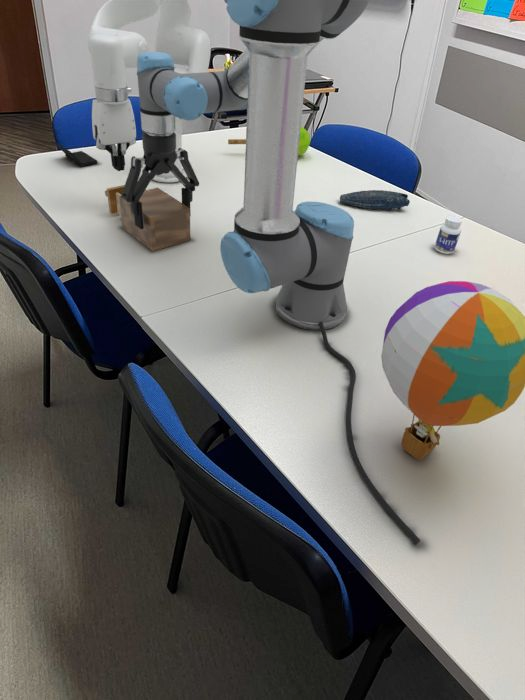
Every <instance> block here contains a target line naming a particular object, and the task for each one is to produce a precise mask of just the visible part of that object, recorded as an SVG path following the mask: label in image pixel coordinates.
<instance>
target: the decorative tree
mask: <svg viewBox="0 0 525 700" xmlns="http://www.w3.org/2000/svg"><path fill="white" fill-rule="evenodd" d="M227 144H228V145H246V138H244V139H243V138H241V139H239V138H237V139H236V138H235V139H233V138H230V139H227ZM310 145H311V136H310V133H309V132H308V131H307V130H306V129H305V128H304V127H303V126H302V125H301V128H300V139H299V149H298V157H300V156H302V155H305V154H306V153H307V151H308V148H309V147H310Z"/></svg>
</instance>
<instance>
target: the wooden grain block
mask: <svg viewBox="0 0 525 700" xmlns="http://www.w3.org/2000/svg"><path fill="white" fill-rule="evenodd" d="M121 196H122V195H121ZM121 196H119V200H120V209H121V216H120V217H121V224H122V225H121V228H122V229H123V230H124V231H126V232H127V233H128V234H129V235H131V236H132V237H133V238H134V239H136V240H137V241H138V242H140V243H141V244H142V245H143V246H144V247H146V248H147V249H149V250H150V251H151V252H155V251H158V250H159V251H160V250H162V249H165V248H169V247H172V246H176V245H180V244H183V243H185V242H190V241H191V216H190V213H191V207H190V208H189V207H187V206H186V205H184V204H183V203H182V201H179V200H178V199H177V198H174V196H172V195H170V194H168V193H167V192H166V191H164V190H162V189H161V188H159V187H154V188H148V189H146V190H145V191H144V193H143V194H142V196H141V198H140V200H139V201H140V202H141V203H142V214H143V226H144V229H140V228H138V227H137V226H136V225H135V218H134V215H133V214H132V213H131V208H130V202H127V201H125V200H124V199H122V197H121Z"/></svg>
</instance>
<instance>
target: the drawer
mask: <svg viewBox="0 0 525 700" xmlns="http://www.w3.org/2000/svg"><path fill="white" fill-rule="evenodd" d="M124 187H125V184H123V185H118V186H111V187H108V188H106V190H104V196H106V197H107V203H108V212H109V214H111V215H114V214H117V215H118V216H120V217H121V209H120V200H119V196H121V195H122V193H123V190H124ZM145 190H147V188H146V189H145Z"/></svg>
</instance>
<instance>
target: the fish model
mask: <svg viewBox="0 0 525 700" xmlns="http://www.w3.org/2000/svg"><path fill="white" fill-rule="evenodd" d="M410 202H411V201H410V200H409V195H408V194H406V193H403V192H402V193H401V192H399V191H392V190H382V189H380V190H379V189H377V190H376V189H368V190H360V191H352V192H348V193H344V194H341V195H340V196H339V203H343V204H346V205H349V206H351V207H357V208H362V209H371V210H372V209H374V210H384V211H385V210H386V211H391V210H394V209H397V210H402V208H404V207H408V206H409V205H410Z"/></svg>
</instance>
